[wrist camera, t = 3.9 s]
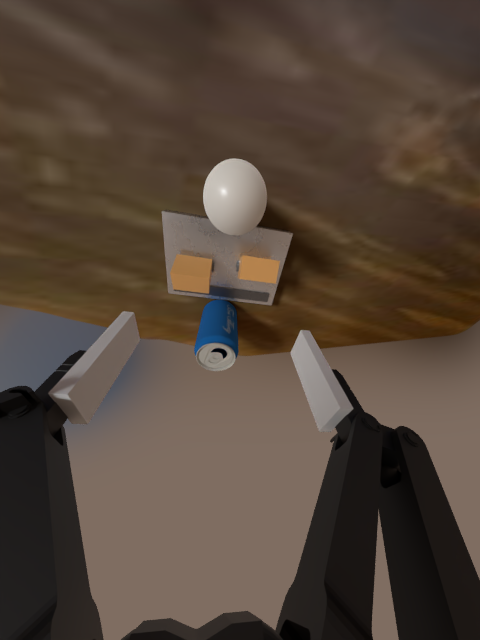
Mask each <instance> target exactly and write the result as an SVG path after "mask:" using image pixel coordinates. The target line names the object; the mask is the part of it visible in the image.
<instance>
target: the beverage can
mask: <svg viewBox="0 0 480 640" xmlns="http://www.w3.org/2000/svg"><path fill="white" fill-rule="evenodd" d="M194 351H195V355H196V360H197V362H198V364H199V365H200V366H202V367H203V368H205V369H207V370H212V371H221V370H225V369H228V368H229V367H231V366H232V365H233V364H234V362H235V359H236V357H237V355H238V331H237V312H236V309H235V307H234V306H233V305H232V304H231V303H229V302H228V301H225V300H214V301H211V302H209V303H208V304H207V305H206V306H205V308H204V310H203V314H202V318H201V323H200V327H199V331H198V335H197V340H196V344H195V350H194Z"/></svg>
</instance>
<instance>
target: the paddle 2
mask: <svg viewBox="0 0 480 640" xmlns="http://www.w3.org/2000/svg"><path fill="white" fill-rule="evenodd" d="M279 263H280V261H277V260H271V259H264V258H257V257H251V256H244V255H243V256H241V257H240V261H239V263H237V267H236V271H237V272H238V277H237V278H239V279H244V280H251V281H259V282H266V283H274V284H276V280H277V274H278V269H279Z"/></svg>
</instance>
